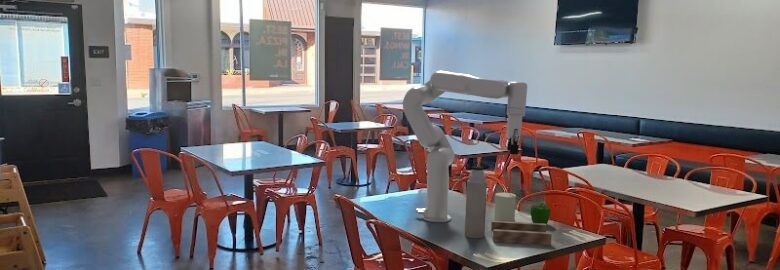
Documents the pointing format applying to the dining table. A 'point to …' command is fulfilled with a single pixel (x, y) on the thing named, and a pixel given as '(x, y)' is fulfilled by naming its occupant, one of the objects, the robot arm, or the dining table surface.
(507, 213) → the can
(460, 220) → the dining table surface
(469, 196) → the thermos bottle
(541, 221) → the bell pepper
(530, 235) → the bottle rest
